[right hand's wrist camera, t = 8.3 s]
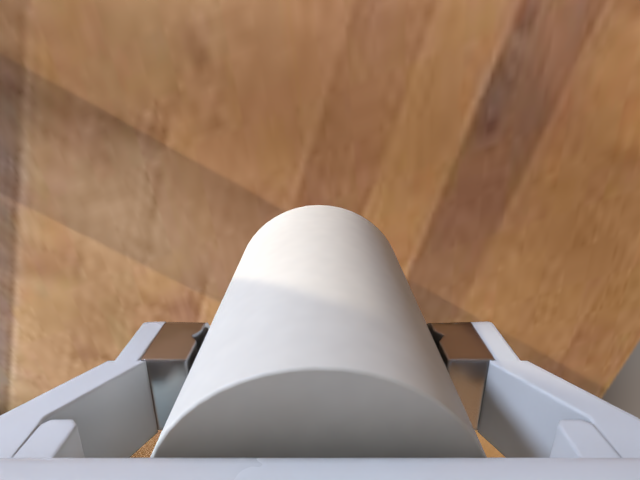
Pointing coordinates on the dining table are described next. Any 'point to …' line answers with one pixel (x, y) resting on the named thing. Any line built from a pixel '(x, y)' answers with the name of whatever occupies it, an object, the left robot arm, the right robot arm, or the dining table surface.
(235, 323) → the canister
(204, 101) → the dining table surface
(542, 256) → the dining table surface
